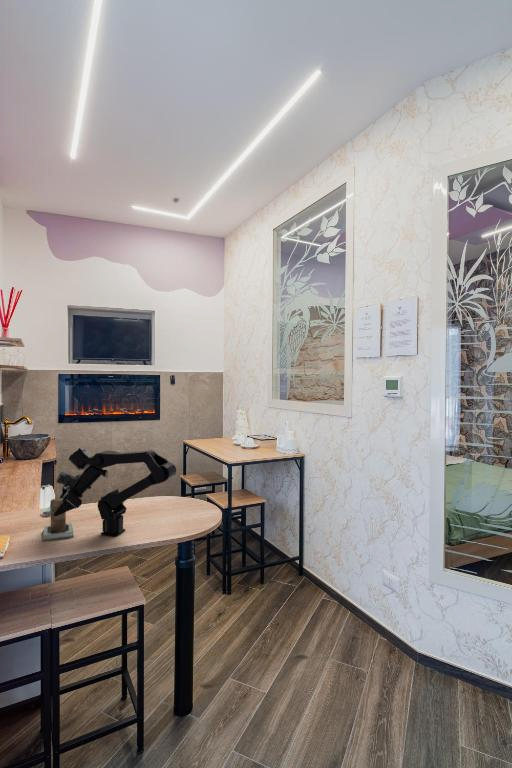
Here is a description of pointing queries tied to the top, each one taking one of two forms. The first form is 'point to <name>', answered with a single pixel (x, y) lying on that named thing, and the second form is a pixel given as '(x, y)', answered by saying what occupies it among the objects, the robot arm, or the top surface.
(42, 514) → the pacifier
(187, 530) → the top surface
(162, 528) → the top surface
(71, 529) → the green square tray
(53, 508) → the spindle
